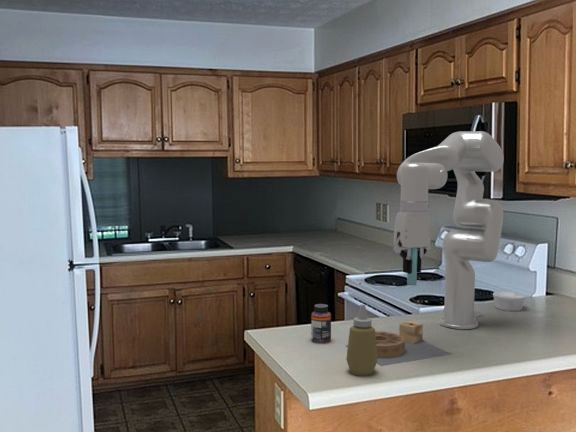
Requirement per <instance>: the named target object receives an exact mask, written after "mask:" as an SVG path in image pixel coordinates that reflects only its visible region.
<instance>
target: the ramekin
mask: <svg viewBox="0 0 576 432" xmlns="http://www.w3.org/2000/svg"><path fill="white" fill-rule="evenodd" d="M492 297H493V302H494V303H493V304H494V307H495V308H496V309H498V310H500V311H505V312H519V311H521V310H522V309H523V306H524V303H525V299H526V295H525V294H522V293H519V292H515V291H501V290H500V291H495V292H493V293H492Z"/></svg>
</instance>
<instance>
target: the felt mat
mask: <svg viewBox="0 0 576 432" xmlns="http://www.w3.org/2000/svg"><path fill="white" fill-rule="evenodd" d="M345 347H346V348H348V344H347V345H345ZM449 355H452V353H451V352H449V351H447V350H444V349H443V348H440V347H438V346H436V345H434V344H431V343H429V342H426V341H424V340H422V341H419V342H417V343H414V344H412V343H408V342H405V353H404V354H402V355H400V356H398V357H392V358H377V363H376V365H379V366H381V367H384V366H389V365H396V364H401V363H408V362H412V361H420V360H424V359H430V358H431V359H432V358H437V357H443V356H449Z"/></svg>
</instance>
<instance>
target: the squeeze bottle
mask: <svg viewBox="0 0 576 432" xmlns="http://www.w3.org/2000/svg"><path fill="white" fill-rule="evenodd" d="M367 313H368V312H367V308H366V304H360V305H359V310H358V315H357V316H356V317H354V318H353V325H352V326H350V328H349V334H348V341H347V345H348V347H347V349H346V350H347V351H346V357H345V360H346V364H347V366H348V369H349V371H350V373H351V374H353V375H355V376H371V375H373V374H374V371H375V369H376V365H377V348H376V336H375V331H376V328H375V327H374V326H373V325H372V320H373V319H372V318H370V317H368V314H367Z"/></svg>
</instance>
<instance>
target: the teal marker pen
mask: <svg viewBox="0 0 576 432" xmlns="http://www.w3.org/2000/svg"><path fill="white" fill-rule="evenodd" d="M417 254H418V248H411V258H410V259H411V260H412V273H411V274H408V273H406V275H407V277H406V279H407V280H406V283H407V284H406V285H408V286H417V279H418V273H417Z"/></svg>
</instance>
